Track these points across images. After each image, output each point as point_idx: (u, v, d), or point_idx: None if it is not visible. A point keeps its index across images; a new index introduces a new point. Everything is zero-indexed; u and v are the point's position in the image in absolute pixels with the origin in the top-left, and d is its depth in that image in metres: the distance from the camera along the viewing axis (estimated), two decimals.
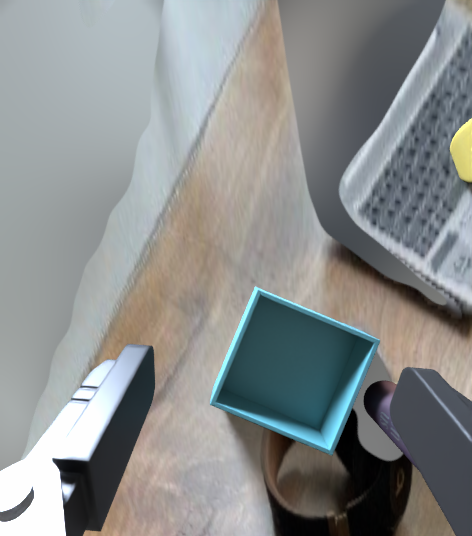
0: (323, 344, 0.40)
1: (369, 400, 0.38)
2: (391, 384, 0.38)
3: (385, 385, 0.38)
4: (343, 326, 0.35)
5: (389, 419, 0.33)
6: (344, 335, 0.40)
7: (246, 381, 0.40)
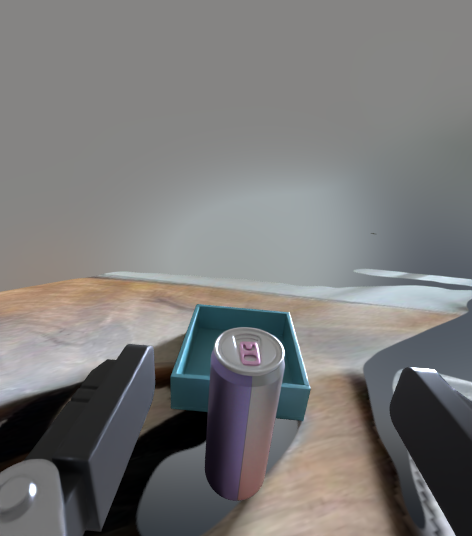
0: None
1: None
2: None
3: None
4: (301, 359, 0.36)
5: None
6: None
7: (209, 341, 0.45)
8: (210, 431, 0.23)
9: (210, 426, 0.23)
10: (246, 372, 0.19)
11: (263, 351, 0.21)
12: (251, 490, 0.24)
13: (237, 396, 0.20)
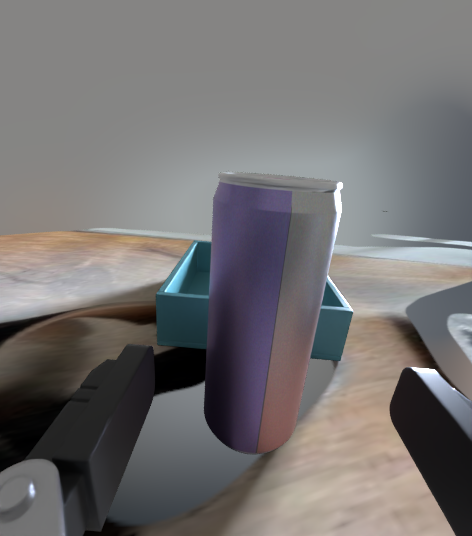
0: None
1: None
2: None
3: None
4: (333, 285, 0.27)
5: None
6: None
7: (209, 283, 0.36)
8: (212, 334, 0.14)
9: (212, 325, 0.14)
10: (281, 182, 0.10)
11: None
12: (279, 435, 0.15)
13: (262, 237, 0.11)
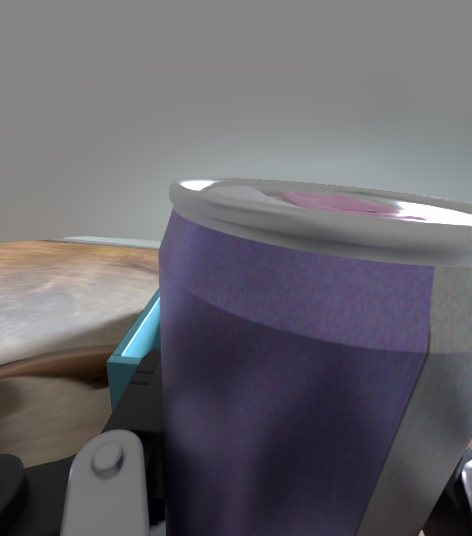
0: None
1: None
2: None
3: None
4: None
5: None
6: None
7: None
8: None
9: (169, 523, 0.06)
10: (398, 231, 0.02)
11: (396, 206, 0.05)
12: None
13: (305, 424, 0.03)
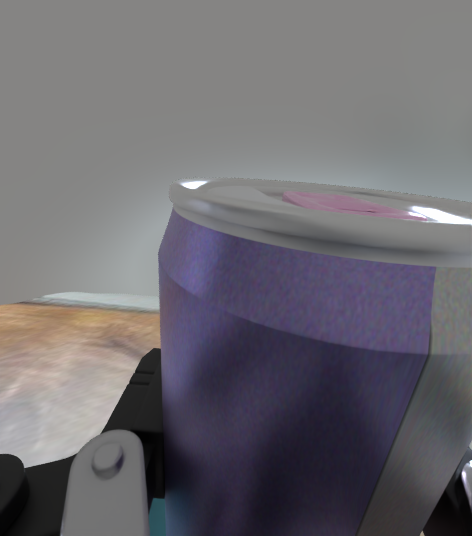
0: None
1: None
2: None
3: None
4: None
5: None
6: None
7: None
8: None
9: (169, 524, 0.06)
10: (399, 232, 0.02)
11: (397, 207, 0.05)
12: None
13: (306, 424, 0.03)
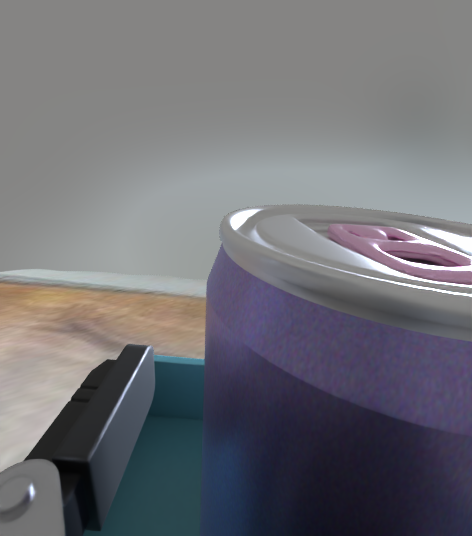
0: None
1: None
2: None
3: None
4: None
5: None
6: None
7: (152, 475, 0.15)
8: None
9: None
10: None
11: (455, 245, 0.04)
12: None
13: (389, 502, 0.03)
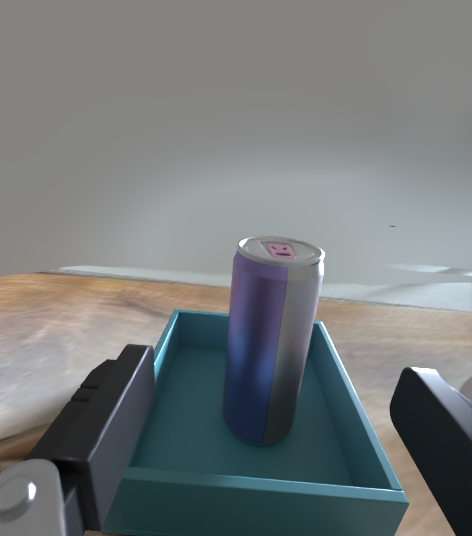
0: (300, 461, 0.20)
1: None
2: None
3: None
4: (365, 416, 0.18)
5: None
6: None
7: (193, 370, 0.28)
8: (231, 356, 0.19)
9: (231, 349, 0.19)
10: (280, 261, 0.15)
11: (297, 251, 0.18)
12: (280, 431, 0.20)
13: (268, 296, 0.16)
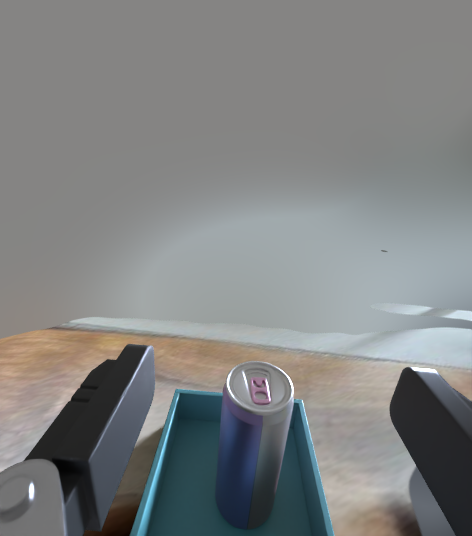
0: None
1: None
2: None
3: None
4: (327, 513, 0.23)
5: None
6: None
7: (192, 446, 0.32)
8: (221, 462, 0.24)
9: (221, 458, 0.24)
10: (257, 412, 0.20)
11: (273, 388, 0.22)
12: (261, 519, 0.25)
13: (248, 434, 0.21)
